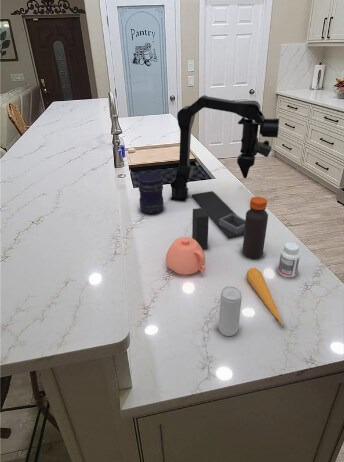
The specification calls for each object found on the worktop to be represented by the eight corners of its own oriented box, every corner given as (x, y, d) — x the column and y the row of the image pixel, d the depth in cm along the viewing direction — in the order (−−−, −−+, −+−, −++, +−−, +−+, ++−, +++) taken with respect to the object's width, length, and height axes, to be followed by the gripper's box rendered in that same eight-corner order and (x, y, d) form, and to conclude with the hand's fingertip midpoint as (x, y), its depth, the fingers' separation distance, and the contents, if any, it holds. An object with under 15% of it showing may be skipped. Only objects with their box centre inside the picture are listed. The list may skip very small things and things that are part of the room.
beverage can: (216, 322, 83) (219, 286, 78) (235, 321, 84) (239, 285, 78) (220, 338, 79) (223, 301, 74) (240, 336, 80) (244, 299, 74)
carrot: (246, 278, 99) (242, 269, 97) (260, 272, 99) (256, 262, 96) (276, 335, 83) (273, 325, 80) (293, 328, 83) (290, 318, 80)
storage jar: (136, 213, 135) (133, 179, 128) (146, 202, 143) (144, 170, 136) (157, 217, 132) (156, 183, 125) (167, 206, 140) (166, 174, 133)
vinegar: (264, 250, 111) (272, 197, 101) (260, 261, 105) (267, 206, 96) (244, 245, 113) (250, 193, 104) (239, 256, 108) (245, 202, 98)
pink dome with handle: (184, 250, 112) (184, 224, 107) (217, 268, 103) (218, 241, 98) (158, 266, 104) (156, 239, 99) (190, 287, 95) (190, 259, 90)
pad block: (196, 250, 111) (196, 217, 105) (192, 241, 116) (192, 208, 110) (207, 249, 112) (208, 216, 106) (203, 239, 117) (204, 207, 111)
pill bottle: (287, 264, 104) (292, 239, 99) (300, 274, 99) (305, 248, 95) (274, 269, 102) (278, 243, 97) (286, 280, 97) (291, 253, 93)
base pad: (191, 196, 148) (192, 189, 147) (212, 193, 151) (212, 186, 149) (228, 239, 117) (229, 230, 115) (253, 234, 120) (254, 225, 118)
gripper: (270, 144, 115) (265, 184, 122) (272, 130, 131) (268, 167, 138) (238, 142, 118) (235, 182, 126) (244, 129, 134) (241, 165, 141)
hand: (246, 173), depth 133 cm, fingers open, 9 cm apart
